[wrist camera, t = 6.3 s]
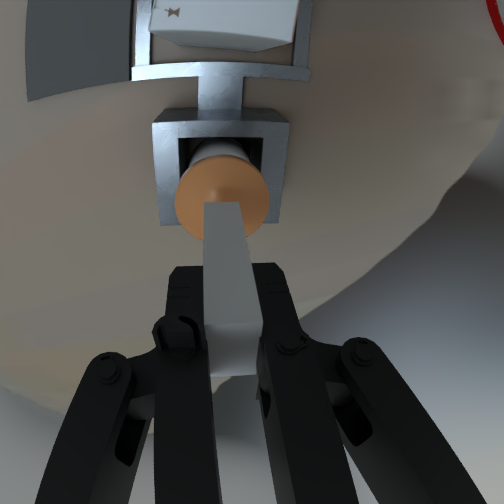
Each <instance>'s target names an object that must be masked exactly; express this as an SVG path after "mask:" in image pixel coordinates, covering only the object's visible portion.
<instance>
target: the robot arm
mask: <svg viewBox="0 0 504 504" xmlns="http://www.w3.org/2000/svg"><path fill="white" fill-rule="evenodd" d="M152 334H153V338H154V341H155V344H156V347H155V348H154V349H153V350H151V351H150V352H148V353H145V354H143V355H139V356H135V357H132V358H128V359H127V358H126V357H125V356H123V355H121V354H119V353H117V352H106V353H102V354H99V355H98V356H96V357H95V358H93V359H92V361H91V362H90V364H89V365H88V367H87V369H86V371H85V373H84V375H83V377H82V379H81V382H80V384H79V386H78V388H77V390H76V393H75V395H74V397H73V399H72V402H71V404H70V406H69V409H68V411H67V414H66V416H65V419H64V421H63V423H62V426H61V428H60V431H59V433H58V436H57V438H56V441H55V444H54V446H53V449H52V452H51V455H50V457H49V460H48V463H47V466H46V469H45V472H44V475H43V478H42V481H41V484H40V488H39V491H38V494H37V498H36V501H35V504H128V502H129V498H130V494H131V490H132V487H133V482H134V479H135V475H136V472H137V468H138V464H139V461H140V457H141V453H142V450H143V447H144V443H145V440H146V437H147V433H148V430H149V426H150V423H151V420H152V418H153V417H154V486H155V504H223V503H222V495H221V487H220V478H219V469H218V459H217V450H216V439H215V428H214V417H213V416H214V415H213V402H212V390H211V378H210V377H218V376H235V375H250V374H256V369H257V373H258V379H259V381H258V387H257V393H256V400H257V399H259V401H260V407H261V413H262V419H263V425H264V431H265V437H266V443H267V449H268V455H269V461H270V467H271V472H272V477H273V484H274V489H275V495H276V501H277V504H359V502H358V498H357V494H356V490H355V486H354V483H353V479H352V475H351V471H350V468H349V464H348V461H347V457H346V453H345V450H344V446H345V448H346V449H347V451H348V453H349V454H350V456H351V458H352V459H353V461H354V463H355V464H356V466H357V468H358V469H359V471H360V473H361V474H362V476H363V478H364V479H365V481H366V483H367V485H368V486H369V488H370V490H371V491H372V493H373V495H374V496H375V498H376V500H377V501H378V503H379V504H487V503H486V501H485V500H484V498H483V497H482V495H481V493H480V492H479V490H478V488H477V487H476V485H475V483H474V482H473V480H472V479H471V477H470V476H469V474H468V472H467V471H466V470H465V468H464V466H463V465H462V463H461V462H460V460H459V459H458V457H457V456H456V454H455V452H454V451H453V450H452V448H451V446H450V445H449V444H448V442H447V441H446V439H445V438H444V436H443V435H442V433H441V432H440V430H439V429H438V427H437V426H436V424H435V423H434V421H433V420H432V419H431V417H430V416H429V414H428V413H427V411H426V410H425V409H424V408H423V406H422V405H421V403H420V402H419V400H418V399H417V397H416V396H415V395H414V393H413V392H412V390H411V389H410V388H409V386H408V385H407V384H406V382H405V381H404V379H403V378H402V377H401V375H400V374H399V373H398V371H397V370H396V369H395V367H394V366H393V364H392V363H391V362H390V361H389V359H388V358H387V356H386V355H385V354H384V352H383V351H382V350H381V348H380V347H379V346H378V345H376V344H375V343H374V342H373V341H371V340H369V339H367V338H361V337H357V338H351V339H349V340H348V341H346V342H345V343H344V345H343V346H337V345H331V344H325V343H321V342H317V341H315V340H313V339H311V338H310V337H309V335H308V334H306V333H305V332H304V331H303V330H302V328H301V326H300V324H299V320H298V317H297V314H296V310H295V307H294V304H293V301H292V297H291V294H290V293H289V288H288V285H287V282H286V278H285V275H284V272H283V271H282V270H281V269H280V268H279V266H278V265H277V264H276V263H275V262H274V263H251V259H250V254H249V249H248V244H247V239H246V234H245V229H244V224H243V219H242V214H241V209H240V204H239V202H204V229H203V266H178V267H176V268H175V269H174V271H173V272H172V273H171V275H170V276H169V284H168V292H167V302H166V311H165V316H163V317H161V318H160V319H159V320H158V321H157V322H156V323H155V324H154V327H153V330H152ZM343 444H344V446H343Z"/></svg>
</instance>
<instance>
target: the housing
mask: <svg viewBox="0 0 504 504" xmlns="http://www.w3.org/2000/svg"><path fill="white" fill-rule="evenodd" d="M312 3H313V0H300V4H299V9H298V15H297V21H296V26H295V32H294V39H293V50H292V62H291V66H285V65H275V64H262V63H244V62H187V63H169V64H157V65H151V38H152V33H151V32H149V31H148V26H149V21H150V16H151V11H152V8H153V0H138V5H137V22H136V67H132V81H136V80H145V79H156V78H169V77H187V76H199V90H198V107H197V108H172V109H164V110H163V112H162V113H161V114H160V115H159V116H158V117H157V118H156V119H155V120H154V122H153V123H152V133H153V150H154V164H155V176H156V187H157V197H158V207H159V216H160V224H161V226H166V225H181V223H180V222H179V219H178V217H177V215H176V211H175V194H176V190H177V186H178V183H179V181H180V179H181V177H182V175H183V174H184V172H185V171H186V144H185V138H188V137H252V142H251V157H250V163H251V164H253V165H254V166H255V167H256V168H257V169H258V170H259V172H260V173H261V175H262V176H263V178H264V180H265V183H266V185H267V188H268V191H269V197H270V205H269V210H268V213H267V216H266V218H265V220H264V221H263V223H278V221H279V213H280V205H281V197H282V189H283V181H284V172H285V164H286V155H287V146H288V137H289V128H290V123H289V122H288V121H287V120H286V119H285V118H284V117H283V116H281V115H280V114H279V113H278V112H277V111H276V110H274V109H267V108H242V89H243V76H245V77H264V78H277V79H288V80H297V81H306V82H310V73H311V69H309V68H307V60H308V49H309V39H310V27H311V15H312Z"/></svg>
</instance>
